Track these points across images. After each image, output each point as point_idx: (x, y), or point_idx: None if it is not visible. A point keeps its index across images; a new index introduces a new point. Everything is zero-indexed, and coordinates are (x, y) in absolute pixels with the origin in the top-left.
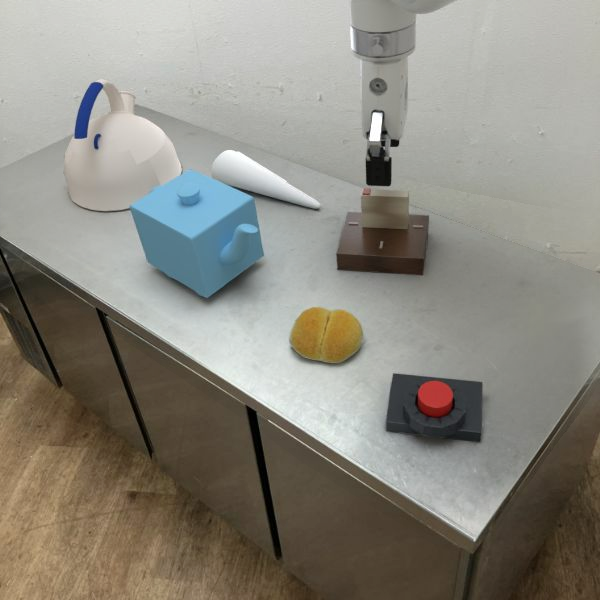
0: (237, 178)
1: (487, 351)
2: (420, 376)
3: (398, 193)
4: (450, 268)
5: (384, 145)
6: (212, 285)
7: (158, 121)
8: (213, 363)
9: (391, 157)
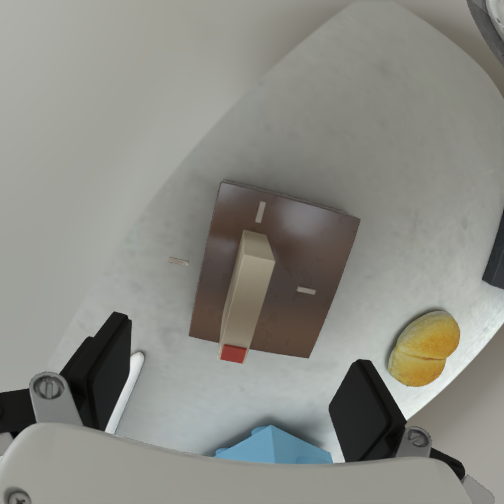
0: None
1: (477, 169)
2: (501, 258)
3: (252, 283)
4: (337, 162)
5: (129, 358)
6: (325, 457)
7: None
8: None
9: (397, 423)
